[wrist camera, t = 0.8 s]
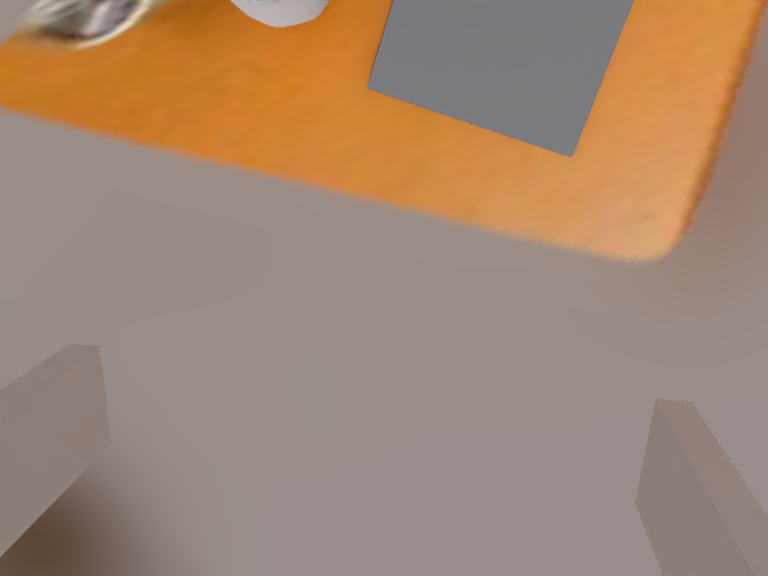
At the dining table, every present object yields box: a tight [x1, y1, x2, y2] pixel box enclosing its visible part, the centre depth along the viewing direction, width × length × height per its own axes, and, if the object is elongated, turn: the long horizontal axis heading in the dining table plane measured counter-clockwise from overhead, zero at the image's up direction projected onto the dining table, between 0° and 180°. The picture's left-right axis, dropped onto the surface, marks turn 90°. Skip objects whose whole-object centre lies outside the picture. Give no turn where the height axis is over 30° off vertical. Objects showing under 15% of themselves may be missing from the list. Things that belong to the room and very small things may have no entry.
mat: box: [367, 0, 634, 157], centre depth 34 cm, size 11×12×1 cm
